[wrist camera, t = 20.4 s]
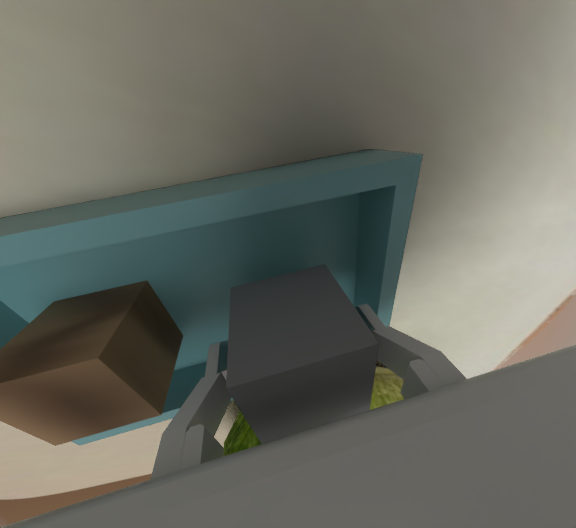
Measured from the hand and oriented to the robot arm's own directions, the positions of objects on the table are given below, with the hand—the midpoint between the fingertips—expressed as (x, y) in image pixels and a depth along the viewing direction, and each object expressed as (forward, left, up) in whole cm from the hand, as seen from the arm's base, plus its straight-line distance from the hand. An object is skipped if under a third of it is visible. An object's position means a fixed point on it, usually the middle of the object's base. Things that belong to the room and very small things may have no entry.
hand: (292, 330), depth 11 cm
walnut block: (+10, 0, -4) cm, 11 cm away
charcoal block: (0, 0, -2) cm, 2 cm away
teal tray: (+4, 0, -5) cm, 7 cm away
